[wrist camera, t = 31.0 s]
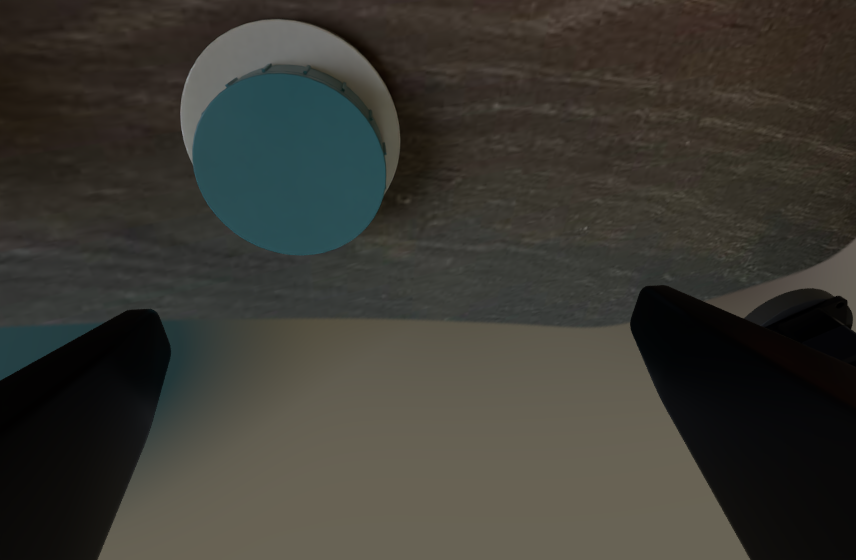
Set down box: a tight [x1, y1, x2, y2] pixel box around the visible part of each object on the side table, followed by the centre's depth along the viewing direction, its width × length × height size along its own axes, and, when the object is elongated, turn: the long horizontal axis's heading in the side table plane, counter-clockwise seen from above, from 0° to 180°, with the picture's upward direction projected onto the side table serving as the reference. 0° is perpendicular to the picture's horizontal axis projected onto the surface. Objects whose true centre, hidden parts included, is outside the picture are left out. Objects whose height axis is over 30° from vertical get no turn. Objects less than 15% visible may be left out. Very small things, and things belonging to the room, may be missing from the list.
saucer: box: [180, 18, 401, 194], centre depth 17 cm, size 8×8×1 cm
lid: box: [192, 63, 387, 255], centre depth 16 cm, size 7×7×2 cm
